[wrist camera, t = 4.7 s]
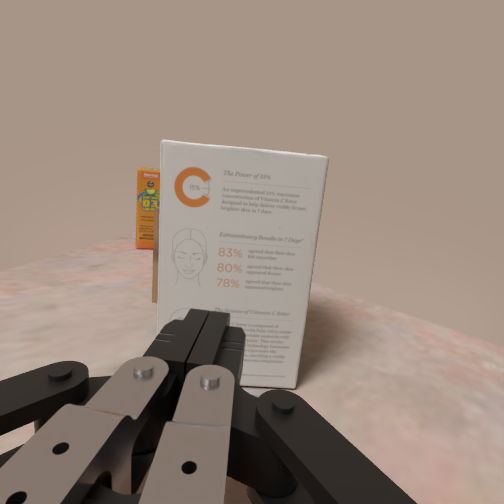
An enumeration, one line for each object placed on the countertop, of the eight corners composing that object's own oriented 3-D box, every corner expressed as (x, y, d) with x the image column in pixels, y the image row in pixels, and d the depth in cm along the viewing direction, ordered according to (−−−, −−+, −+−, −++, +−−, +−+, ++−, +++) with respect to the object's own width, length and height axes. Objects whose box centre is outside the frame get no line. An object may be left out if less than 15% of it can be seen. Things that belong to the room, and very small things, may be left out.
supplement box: (134, 249, 44) (135, 168, 41) (137, 242, 47) (137, 166, 44) (162, 250, 44) (164, 170, 42) (162, 243, 48) (164, 168, 45)
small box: (283, 336, 26) (307, 155, 22) (297, 392, 20) (333, 155, 16) (173, 328, 25) (180, 142, 22) (152, 384, 19) (158, 137, 16)
